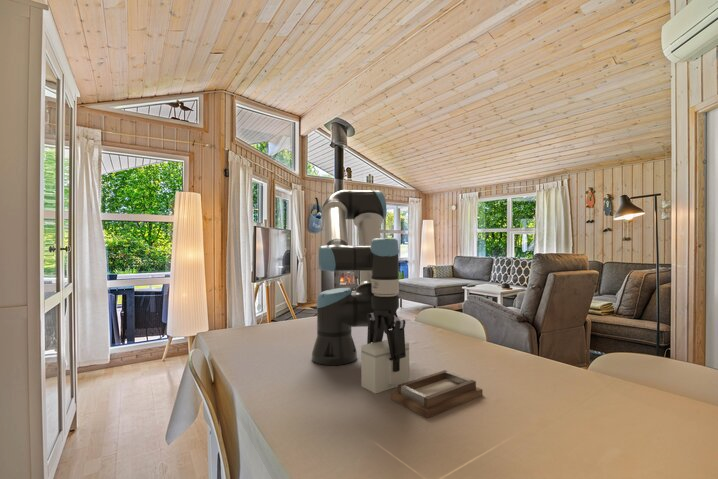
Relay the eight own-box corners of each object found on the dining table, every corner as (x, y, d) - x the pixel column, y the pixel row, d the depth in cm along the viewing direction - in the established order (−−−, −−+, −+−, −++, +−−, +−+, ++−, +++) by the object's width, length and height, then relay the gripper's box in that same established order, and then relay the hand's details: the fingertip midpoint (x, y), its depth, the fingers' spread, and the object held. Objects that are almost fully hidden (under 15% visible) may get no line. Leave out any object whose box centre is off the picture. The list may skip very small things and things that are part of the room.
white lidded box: (361, 386, 96) (361, 345, 96) (394, 376, 103) (394, 338, 103) (375, 393, 91) (375, 350, 91) (409, 382, 98) (409, 342, 98)
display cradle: (391, 399, 87) (391, 384, 88) (445, 380, 99) (445, 368, 99) (427, 418, 78) (427, 402, 78) (482, 395, 90) (482, 381, 90)
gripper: (354, 291, 103) (354, 372, 102) (398, 299, 87) (399, 394, 87) (374, 289, 107) (374, 366, 107) (419, 297, 92) (420, 387, 91)
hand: (385, 379), depth 97 cm, fingers closed on white lidded box, 6 cm apart
